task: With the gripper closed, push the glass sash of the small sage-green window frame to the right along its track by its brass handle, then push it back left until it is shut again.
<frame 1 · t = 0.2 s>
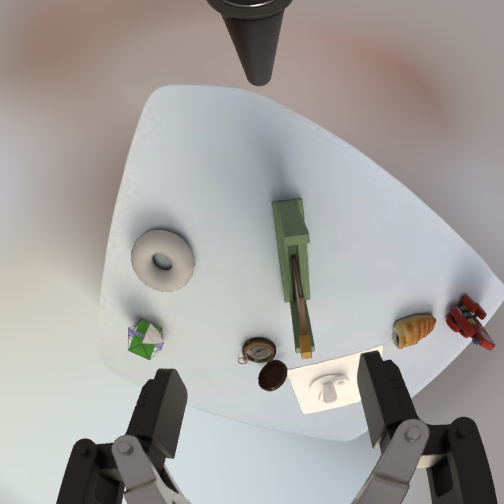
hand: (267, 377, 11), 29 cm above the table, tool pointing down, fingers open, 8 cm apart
donut: (165, 256, 41), on the table
pastry: (409, 324, 46), on the table
toy fire truck: (461, 310, 45), on the table
sash: (300, 303, 35), point 8 cm above the table, slide at 0.0 cm
compass: (257, 352, 50), on the table
window frame: (292, 252, 40), on the table
geometric puzzle: (150, 327, 48), on the table
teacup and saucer: (339, 384, 55), on the table
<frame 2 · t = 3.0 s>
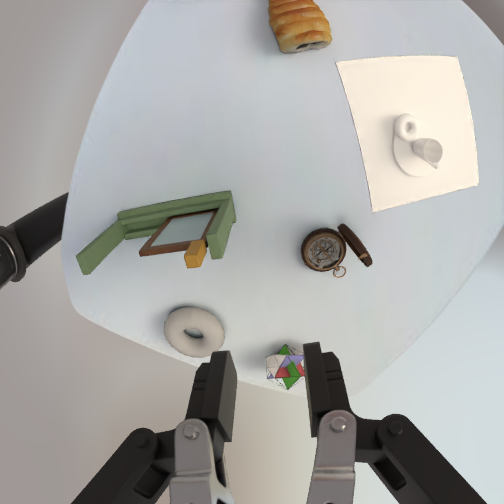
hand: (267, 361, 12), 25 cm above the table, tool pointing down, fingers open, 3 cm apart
donut: (195, 326, 44), on the table
pastry: (295, 25, 24), on the table
sash: (180, 234, 28), point 8 cm above the table, slide at 0.0 cm
compass: (331, 249, 37), on the table
window frame: (174, 215, 36), on the table
geometric puzzle: (285, 352, 46), on the table
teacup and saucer: (422, 126, 29), on the table
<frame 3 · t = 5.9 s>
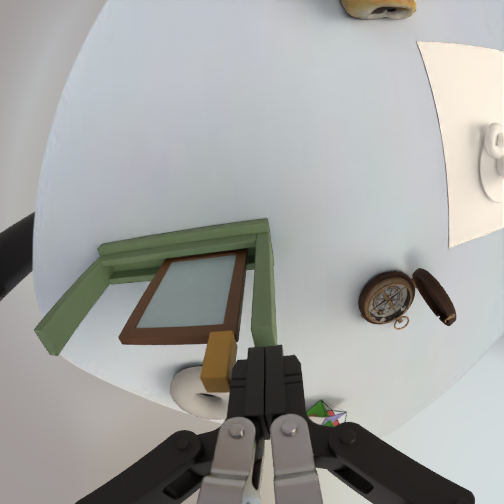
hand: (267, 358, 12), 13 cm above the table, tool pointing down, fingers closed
donut: (210, 383, 33), on the table
sash: (187, 302, 17), point 8 cm above the table, slide at 0.6 cm, touching gripper
compass: (394, 296, 26), on the table
window frame: (180, 252, 24), on the table
geometric puzzle: (319, 406, 35), on the table
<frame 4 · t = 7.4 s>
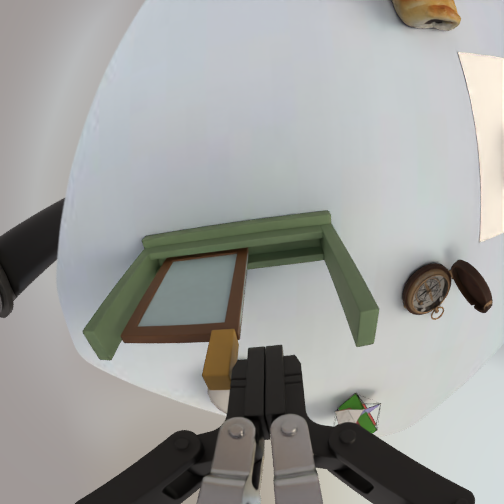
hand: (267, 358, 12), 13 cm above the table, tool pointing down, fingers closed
donut: (249, 381, 32), on the table
sash: (188, 301, 17), point 8 cm above the table, slide at 5.6 cm, touching gripper
compass: (432, 287, 25), on the table
window frame: (236, 244, 24), on the table
geometric puzzle: (352, 400, 35), on the table
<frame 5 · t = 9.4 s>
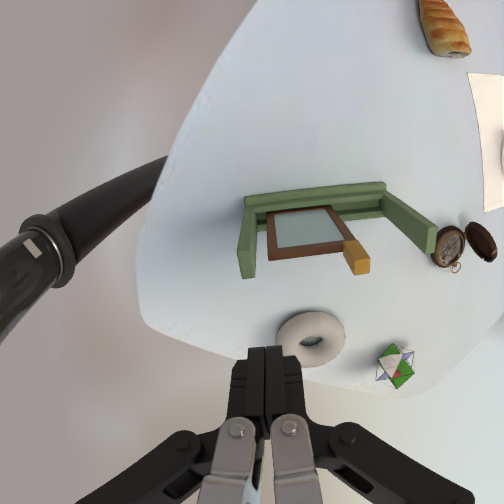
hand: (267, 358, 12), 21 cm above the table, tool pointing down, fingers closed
donut: (309, 332, 39), on the table
pastry: (436, 30, 19), on the table
sash: (307, 233, 24), point 8 cm above the table, slide at 5.6 cm
compass: (451, 246, 32), on the table
window frame: (318, 204, 30), on the table
geometric puzzle: (389, 352, 41), on the table
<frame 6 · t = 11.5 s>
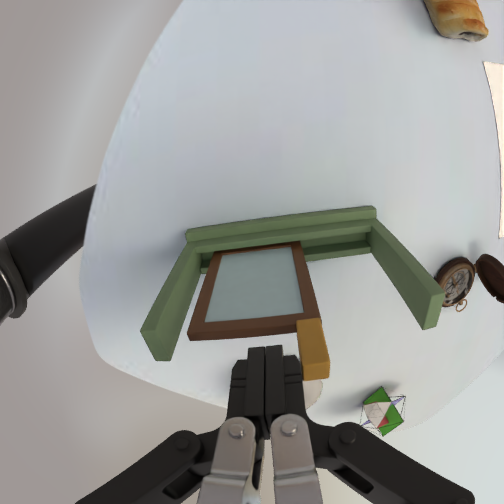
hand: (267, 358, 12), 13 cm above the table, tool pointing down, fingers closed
donut: (281, 378, 32), on the table
pastry: (443, 6, 12), on the table
sash: (254, 294, 17), point 8 cm above the table, slide at 5.5 cm, touching gripper
compass: (457, 281, 25), on the table
window frame: (283, 237, 24), on the table
geometric puzzle: (377, 394, 34), on the table
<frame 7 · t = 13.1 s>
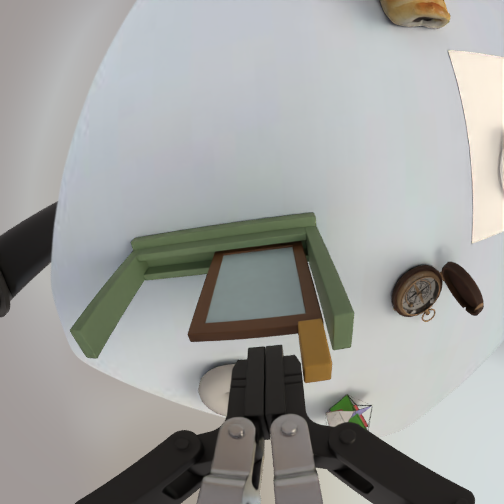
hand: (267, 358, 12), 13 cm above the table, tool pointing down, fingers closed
donut: (239, 382, 33), on the table
sash: (256, 294, 17), point 8 cm above the table, slide at 0.1 cm, touching gripper
compass: (423, 289, 26), on the table
window frame: (222, 246, 24), on the table
geometric puzzle: (344, 401, 35), on the table
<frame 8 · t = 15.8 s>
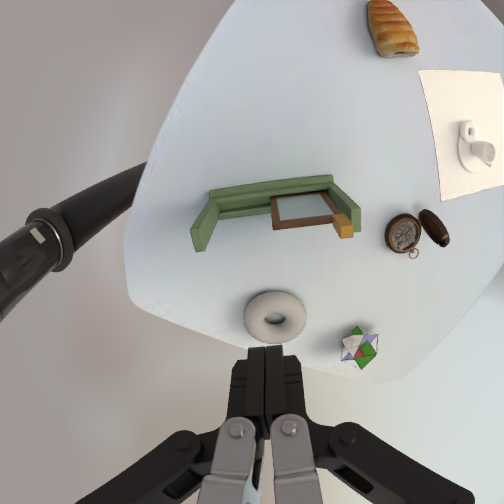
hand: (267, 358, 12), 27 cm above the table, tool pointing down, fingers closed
donut: (274, 311, 45), on the table
pastry: (386, 33, 25), on the table
sash: (304, 211, 29), point 8 cm above the table, slide at 0.1 cm
compass: (407, 233, 38), on the table
window frame: (272, 195, 36), on the table
geometric puzzle: (355, 334, 47), on the table
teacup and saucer: (477, 131, 29), on the table
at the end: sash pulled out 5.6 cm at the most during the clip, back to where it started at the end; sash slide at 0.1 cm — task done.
